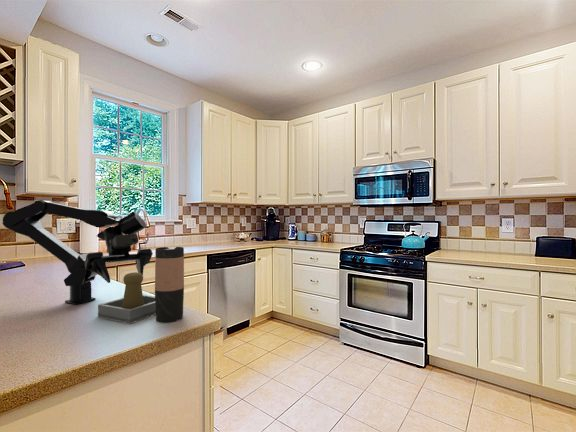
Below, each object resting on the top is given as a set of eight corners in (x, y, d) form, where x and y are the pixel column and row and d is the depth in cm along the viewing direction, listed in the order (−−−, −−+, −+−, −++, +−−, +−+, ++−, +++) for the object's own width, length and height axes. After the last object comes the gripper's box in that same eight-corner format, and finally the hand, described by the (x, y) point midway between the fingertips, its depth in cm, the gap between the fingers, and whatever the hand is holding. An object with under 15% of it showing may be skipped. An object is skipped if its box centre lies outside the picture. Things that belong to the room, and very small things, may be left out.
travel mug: (166, 325, 77) (166, 250, 77) (148, 319, 81) (149, 248, 81) (189, 317, 84) (189, 247, 84) (172, 312, 88) (172, 246, 88)
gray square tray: (98, 317, 84) (98, 304, 84) (137, 304, 95) (137, 293, 95) (129, 323, 78) (129, 310, 78) (167, 309, 90) (167, 298, 90)
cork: (117, 311, 86) (117, 273, 86) (136, 305, 91) (136, 270, 91) (130, 314, 83) (130, 275, 83) (148, 308, 88) (149, 272, 88)
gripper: (86, 226, 88) (95, 267, 80) (150, 225, 101) (163, 260, 94) (81, 250, 94) (89, 290, 86) (142, 246, 107) (154, 281, 99)
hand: (126, 279), depth 91 cm, fingers open, 9 cm apart
